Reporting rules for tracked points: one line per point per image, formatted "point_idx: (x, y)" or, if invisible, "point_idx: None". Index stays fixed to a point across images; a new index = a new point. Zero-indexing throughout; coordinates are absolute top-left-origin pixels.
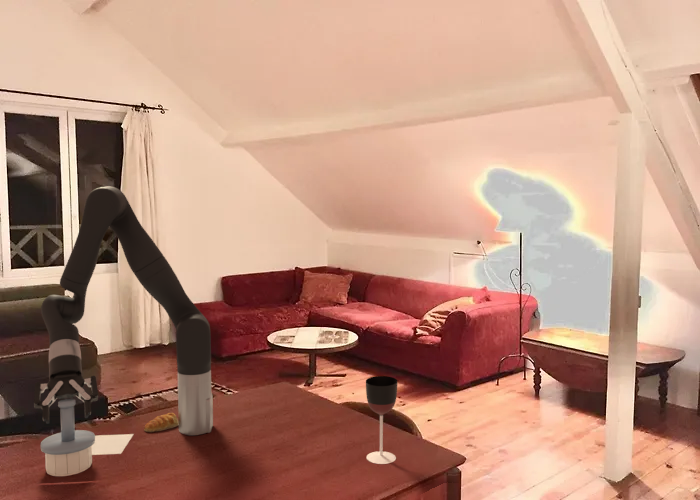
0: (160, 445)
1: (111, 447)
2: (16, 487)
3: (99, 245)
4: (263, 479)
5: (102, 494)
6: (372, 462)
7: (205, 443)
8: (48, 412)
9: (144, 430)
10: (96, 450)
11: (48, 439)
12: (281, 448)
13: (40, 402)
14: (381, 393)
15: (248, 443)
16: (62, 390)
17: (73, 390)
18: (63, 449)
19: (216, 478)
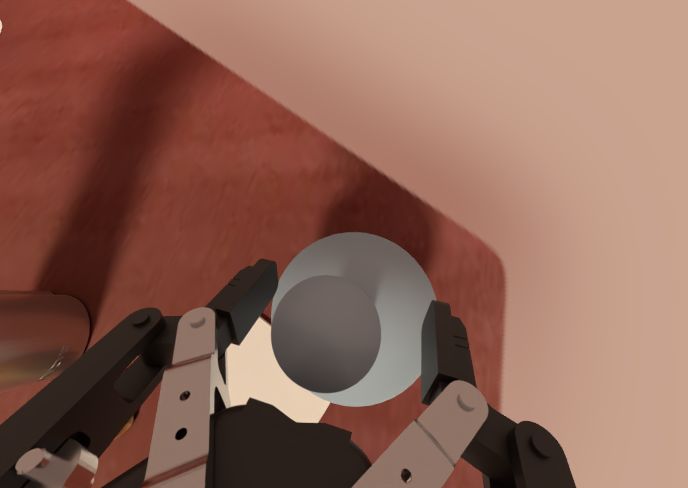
0: (157, 297)
1: (241, 358)
2: (482, 279)
3: None
4: (127, 57)
5: (338, 143)
6: (1, 27)
7: (93, 243)
8: (437, 328)
9: (132, 417)
10: (276, 366)
11: (406, 361)
12: (31, 137)
13: (499, 443)
14: None
15: (46, 190)
16: (312, 477)
17: (230, 427)
18: (383, 238)
19: (171, 95)
